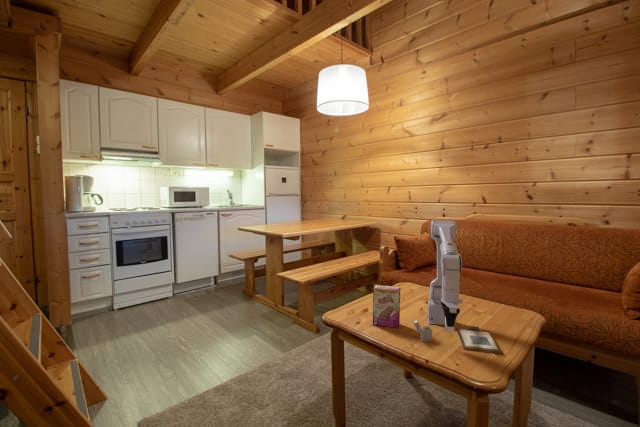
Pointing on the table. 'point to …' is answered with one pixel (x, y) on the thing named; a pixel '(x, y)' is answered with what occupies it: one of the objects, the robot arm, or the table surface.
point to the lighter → (423, 332)
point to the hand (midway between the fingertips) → (449, 324)
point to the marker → (448, 329)
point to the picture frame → (477, 339)
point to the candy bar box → (386, 306)
